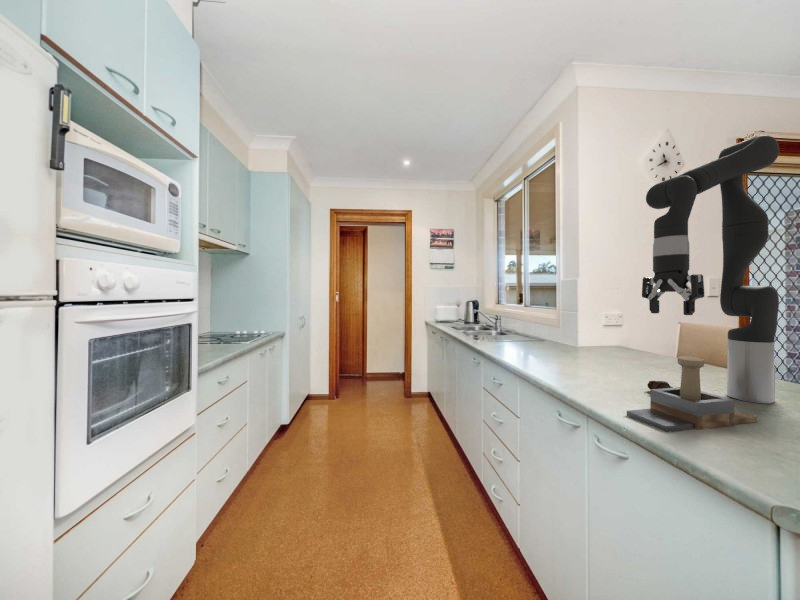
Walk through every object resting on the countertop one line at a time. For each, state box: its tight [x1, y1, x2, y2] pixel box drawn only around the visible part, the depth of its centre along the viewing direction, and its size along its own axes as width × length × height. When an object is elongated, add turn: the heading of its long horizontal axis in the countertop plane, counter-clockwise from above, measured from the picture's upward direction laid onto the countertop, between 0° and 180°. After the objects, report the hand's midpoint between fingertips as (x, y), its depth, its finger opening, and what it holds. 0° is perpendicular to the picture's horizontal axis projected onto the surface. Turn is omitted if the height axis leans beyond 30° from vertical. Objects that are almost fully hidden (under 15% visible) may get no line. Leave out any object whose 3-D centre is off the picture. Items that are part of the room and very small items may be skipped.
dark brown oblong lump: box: [646, 380, 674, 391], centre depth 94 cm, size 6×5×15 cm
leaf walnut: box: [649, 400, 758, 431], centre depth 80 cm, size 19×11×3 cm, turn 101°
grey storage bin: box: [626, 386, 736, 433], centre depth 78 cm, size 19×11×6 cm, turn 101°
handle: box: [677, 355, 705, 401], centre depth 79 cm, size 5×6×15 cm
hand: (670, 314), depth 86 cm, fingers open, 8 cm apart
